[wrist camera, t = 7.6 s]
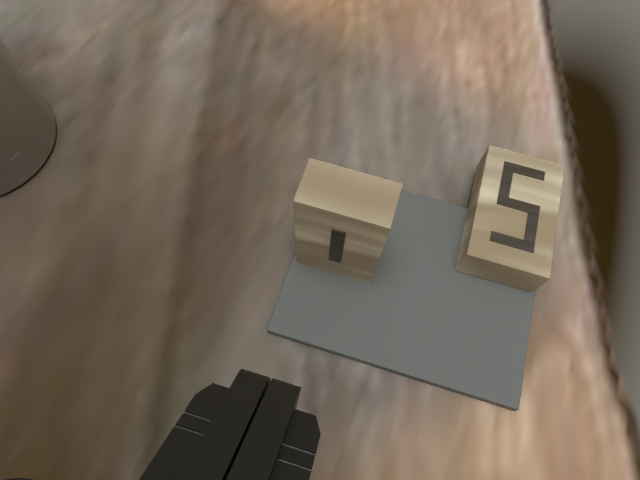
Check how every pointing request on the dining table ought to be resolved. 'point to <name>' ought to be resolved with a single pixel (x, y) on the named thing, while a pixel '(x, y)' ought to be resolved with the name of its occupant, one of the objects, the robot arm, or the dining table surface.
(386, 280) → the mat
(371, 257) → the tile
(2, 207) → the dining table surface
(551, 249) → the tile
